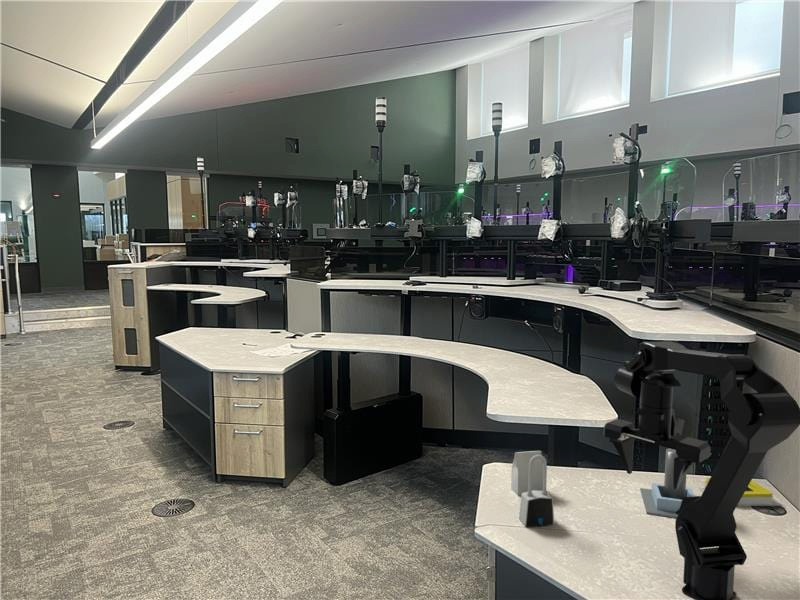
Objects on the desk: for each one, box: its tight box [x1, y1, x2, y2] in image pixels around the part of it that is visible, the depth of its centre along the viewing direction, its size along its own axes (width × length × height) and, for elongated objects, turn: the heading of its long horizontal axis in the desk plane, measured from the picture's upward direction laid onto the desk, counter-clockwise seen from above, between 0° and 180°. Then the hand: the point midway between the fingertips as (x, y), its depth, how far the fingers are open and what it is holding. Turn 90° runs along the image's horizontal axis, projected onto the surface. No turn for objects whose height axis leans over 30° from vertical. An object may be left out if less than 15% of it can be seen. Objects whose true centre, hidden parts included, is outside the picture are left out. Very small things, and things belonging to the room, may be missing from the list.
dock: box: [639, 482, 696, 519], centre depth 121 cm, size 13×13×3 cm
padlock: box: [518, 454, 555, 528], centre depth 112 cm, size 7×4×15 cm, turn 100°
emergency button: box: [698, 477, 782, 507], centre depth 125 cm, size 9×4×15 cm
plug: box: [663, 448, 688, 500], centre depth 120 cm, size 4×4×12 cm
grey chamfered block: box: [511, 450, 543, 496], centre depth 127 cm, size 4×7×10 cm, turn 102°
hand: (652, 480), depth 103 cm, fingers open, 9 cm apart
